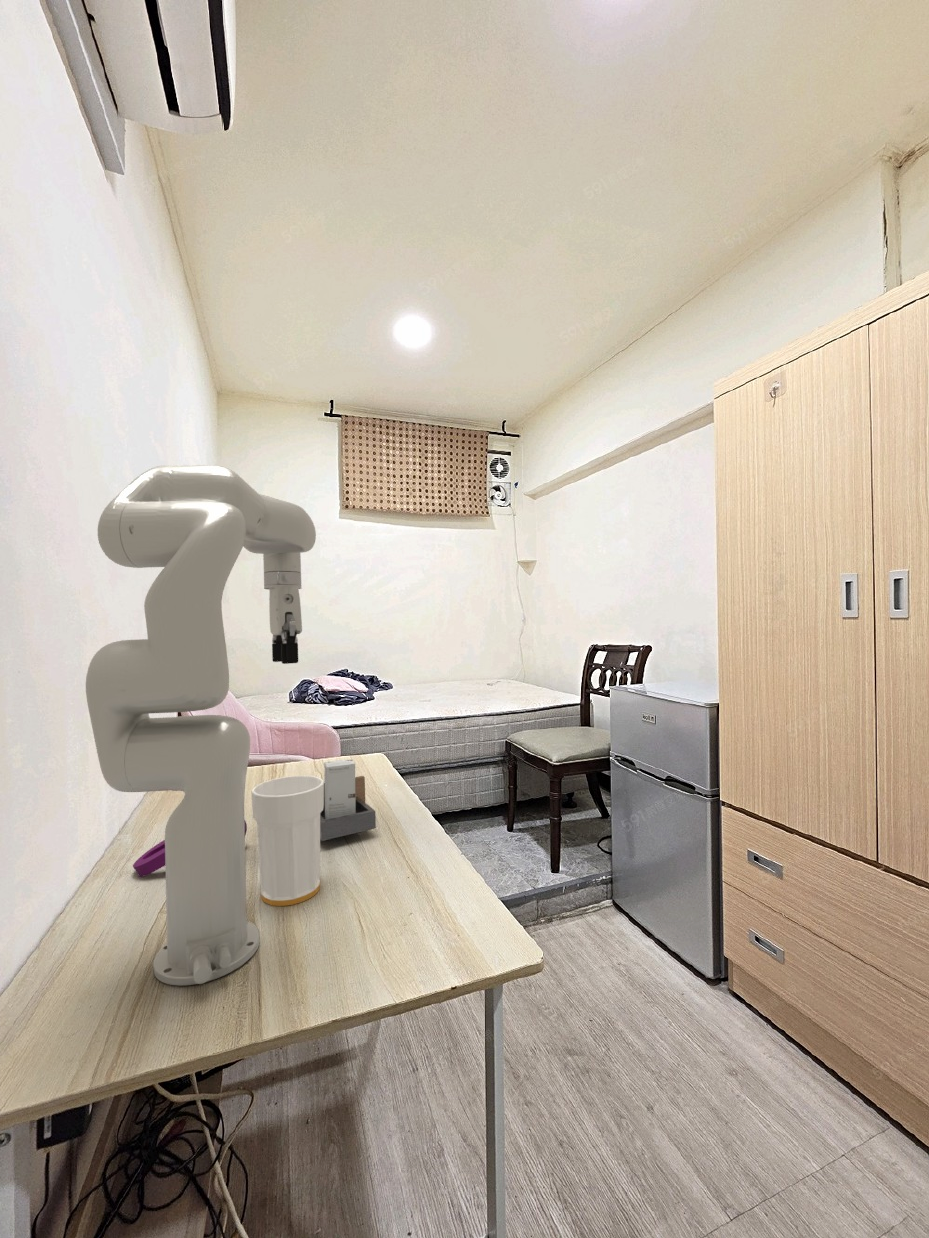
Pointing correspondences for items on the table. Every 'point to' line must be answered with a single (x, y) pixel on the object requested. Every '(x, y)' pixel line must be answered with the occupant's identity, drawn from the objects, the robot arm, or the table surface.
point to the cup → (289, 837)
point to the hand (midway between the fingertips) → (285, 662)
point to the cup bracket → (349, 816)
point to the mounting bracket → (154, 859)
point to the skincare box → (339, 788)
